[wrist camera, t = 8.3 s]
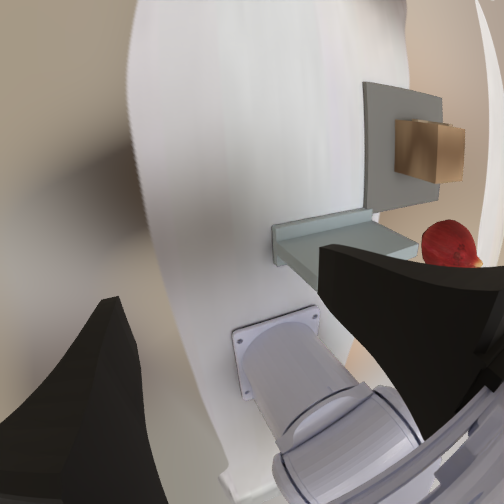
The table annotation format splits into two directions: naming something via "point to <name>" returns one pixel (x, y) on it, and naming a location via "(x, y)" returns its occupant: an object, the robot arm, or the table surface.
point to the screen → (334, 240)
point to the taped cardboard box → (429, 150)
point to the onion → (449, 246)
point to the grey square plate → (393, 146)
